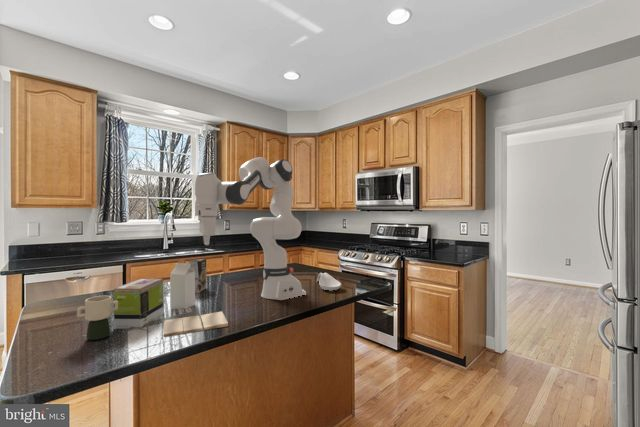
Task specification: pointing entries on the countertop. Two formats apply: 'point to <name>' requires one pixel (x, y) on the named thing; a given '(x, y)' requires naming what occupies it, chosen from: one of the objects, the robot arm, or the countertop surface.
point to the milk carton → (182, 286)
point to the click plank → (214, 320)
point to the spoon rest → (328, 282)
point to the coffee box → (199, 273)
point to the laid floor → (182, 325)
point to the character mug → (97, 315)
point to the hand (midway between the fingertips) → (206, 244)
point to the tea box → (138, 303)
